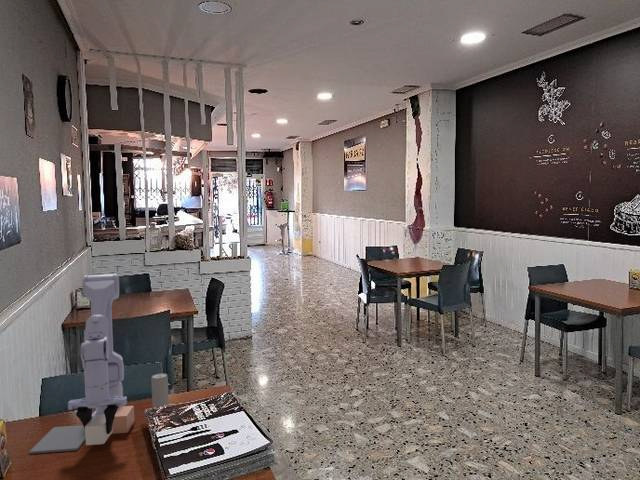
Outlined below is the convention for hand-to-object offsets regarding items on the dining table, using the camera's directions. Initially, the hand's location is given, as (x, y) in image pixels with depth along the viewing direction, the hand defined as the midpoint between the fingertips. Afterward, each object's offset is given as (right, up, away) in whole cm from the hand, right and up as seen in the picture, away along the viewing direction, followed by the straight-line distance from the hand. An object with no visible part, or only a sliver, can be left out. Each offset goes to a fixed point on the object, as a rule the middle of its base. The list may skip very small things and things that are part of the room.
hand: (99, 432), depth 125 cm
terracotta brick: (+2, -3, +10) cm, 11 cm away
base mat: (-11, -3, +4) cm, 13 cm away
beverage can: (+10, -2, +19) cm, 22 cm away
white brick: (0, -2, 0) cm, 2 cm away
